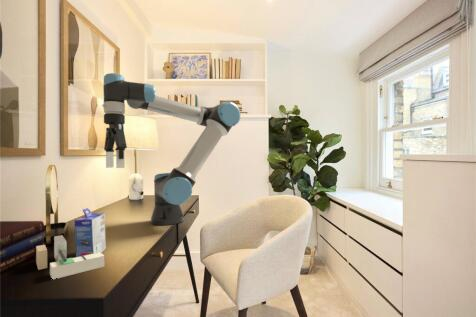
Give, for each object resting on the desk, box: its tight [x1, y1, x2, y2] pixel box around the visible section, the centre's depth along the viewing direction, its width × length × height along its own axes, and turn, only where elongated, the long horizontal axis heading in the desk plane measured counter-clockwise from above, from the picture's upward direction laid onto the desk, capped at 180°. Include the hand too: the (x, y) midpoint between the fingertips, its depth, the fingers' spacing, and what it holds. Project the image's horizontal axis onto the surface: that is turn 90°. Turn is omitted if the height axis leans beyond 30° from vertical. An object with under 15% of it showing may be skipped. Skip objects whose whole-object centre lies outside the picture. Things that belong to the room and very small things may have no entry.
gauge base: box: [35, 244, 105, 280], centre depth 75 cm, size 14×16×5 cm
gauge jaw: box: [53, 234, 68, 262], centre depth 75 cm, size 2×17×6 cm, turn 41°
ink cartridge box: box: [74, 207, 107, 258], centre depth 84 cm, size 10×6×14 cm, turn 7°
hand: (114, 167), depth 105 cm, fingers open, 13 cm apart
